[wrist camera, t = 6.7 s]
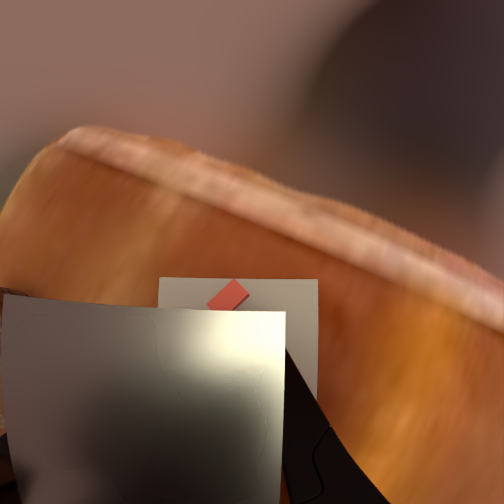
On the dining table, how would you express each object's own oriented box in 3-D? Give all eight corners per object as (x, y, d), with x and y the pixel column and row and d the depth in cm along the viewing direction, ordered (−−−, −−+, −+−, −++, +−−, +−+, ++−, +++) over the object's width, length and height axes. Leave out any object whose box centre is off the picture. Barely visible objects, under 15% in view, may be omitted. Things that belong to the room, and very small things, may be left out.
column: (267, 405, 14) (273, 583, 2) (188, 401, 15) (28, 523, 3) (269, 328, 15) (286, 310, 3) (189, 325, 16) (4, 293, 4)
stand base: (312, 431, 18) (329, 464, 13) (161, 424, 19) (128, 451, 13) (315, 281, 21) (333, 262, 15) (164, 279, 21) (130, 260, 15)
